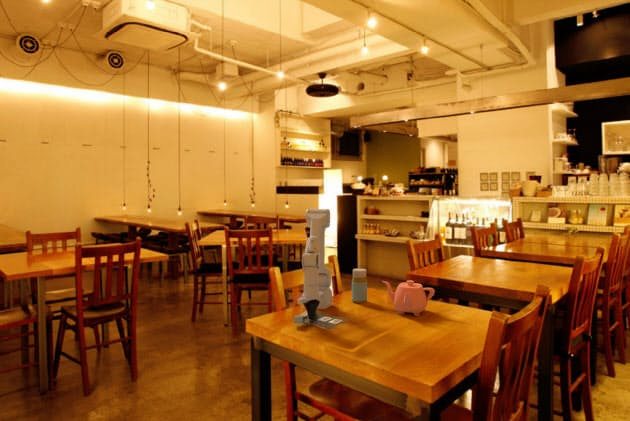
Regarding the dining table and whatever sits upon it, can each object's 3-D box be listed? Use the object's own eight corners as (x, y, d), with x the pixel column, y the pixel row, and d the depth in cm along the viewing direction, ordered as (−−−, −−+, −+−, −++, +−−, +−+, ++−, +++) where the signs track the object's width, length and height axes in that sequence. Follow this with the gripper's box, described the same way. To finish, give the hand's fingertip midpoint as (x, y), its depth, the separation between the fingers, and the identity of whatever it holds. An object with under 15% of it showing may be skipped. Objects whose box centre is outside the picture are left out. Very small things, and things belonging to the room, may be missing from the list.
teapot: (407, 320, 173) (407, 286, 172) (381, 309, 188) (381, 278, 187) (437, 314, 181) (437, 282, 180) (410, 305, 196) (410, 275, 195)
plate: (317, 314, 181) (317, 311, 181) (350, 321, 171) (350, 318, 171) (296, 322, 170) (296, 319, 170) (329, 331, 160) (329, 328, 160)
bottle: (349, 302, 199) (349, 270, 198) (355, 299, 205) (355, 267, 204) (363, 304, 196) (363, 271, 195) (369, 301, 202) (369, 269, 201)
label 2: (335, 319, 171) (335, 318, 171) (342, 321, 169) (342, 320, 169) (328, 322, 167) (328, 321, 167) (335, 324, 165) (335, 323, 165)
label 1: (325, 317, 174) (325, 316, 174) (332, 318, 172) (332, 318, 172) (317, 320, 170) (317, 319, 170) (324, 322, 168) (324, 321, 168)
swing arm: (310, 313, 177) (310, 305, 176) (318, 314, 175) (318, 306, 175) (294, 325, 162) (294, 316, 162) (302, 326, 161) (302, 317, 160)
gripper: (314, 279, 173) (314, 313, 174) (290, 286, 161) (290, 322, 162) (328, 281, 169) (328, 316, 169) (305, 288, 157) (305, 325, 158)
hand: (311, 319), depth 165 cm, fingers closed, pressing on swing arm
